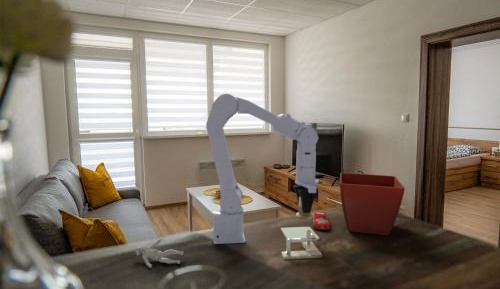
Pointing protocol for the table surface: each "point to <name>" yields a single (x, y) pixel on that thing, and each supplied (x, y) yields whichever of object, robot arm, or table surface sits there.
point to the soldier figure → (157, 254)
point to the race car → (320, 221)
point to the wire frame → (307, 244)
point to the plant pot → (370, 202)
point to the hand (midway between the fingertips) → (304, 210)
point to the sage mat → (297, 232)
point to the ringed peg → (303, 215)
